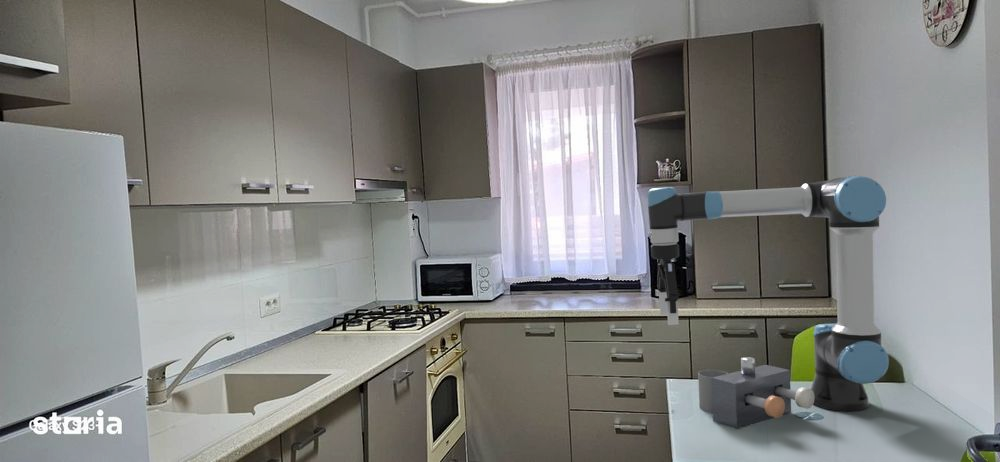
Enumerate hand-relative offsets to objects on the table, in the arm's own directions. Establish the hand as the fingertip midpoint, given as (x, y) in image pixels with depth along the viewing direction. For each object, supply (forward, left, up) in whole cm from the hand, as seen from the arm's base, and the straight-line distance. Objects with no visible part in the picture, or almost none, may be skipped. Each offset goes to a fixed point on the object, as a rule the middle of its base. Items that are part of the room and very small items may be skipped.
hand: (669, 319), depth 181 cm
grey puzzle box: (-21, -1, -28) cm, 35 cm away
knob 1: (-22, +9, -23) cm, 33 cm away
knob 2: (-31, +1, -23) cm, 39 cm away
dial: (-21, -2, -16) cm, 26 cm away
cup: (-12, -9, -28) cm, 32 cm away
